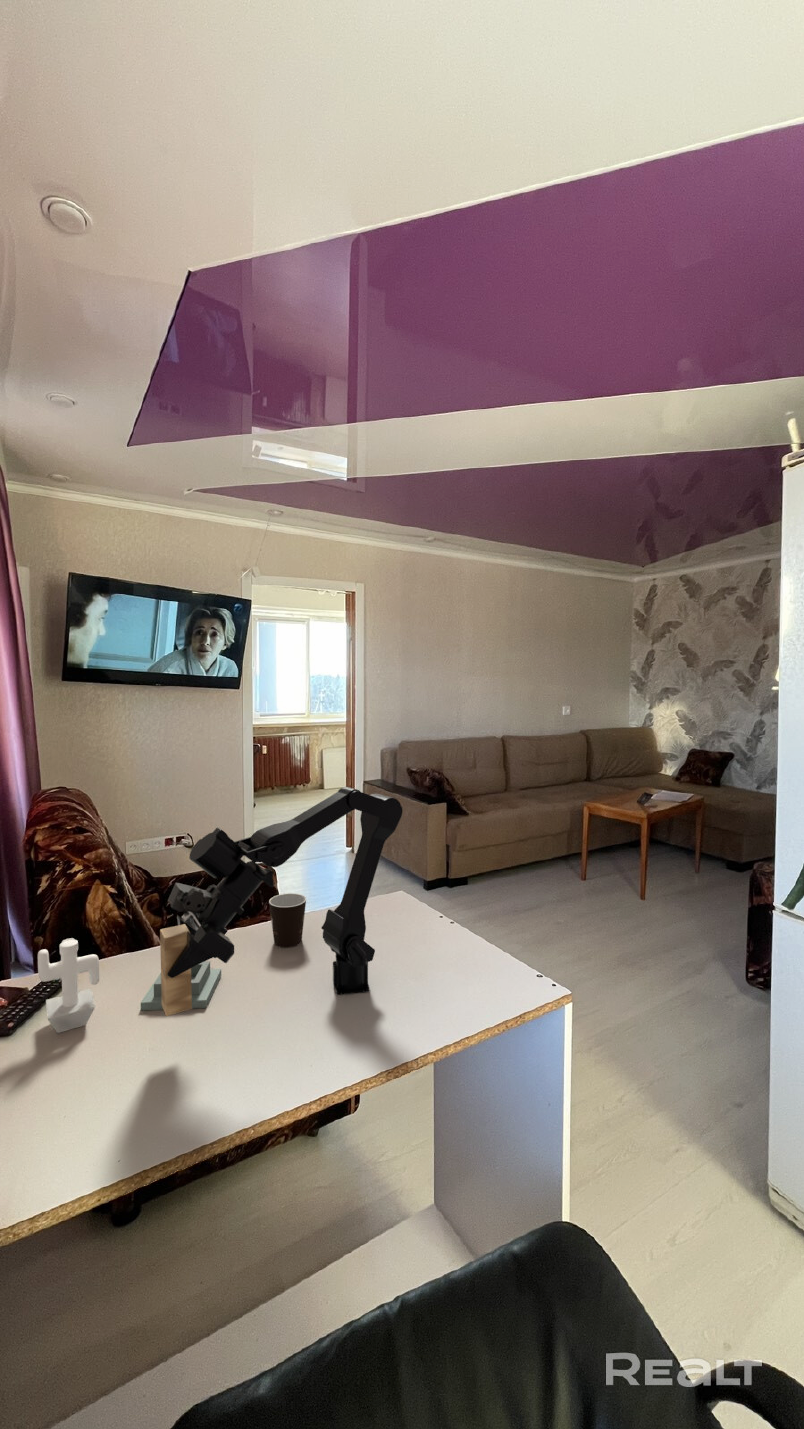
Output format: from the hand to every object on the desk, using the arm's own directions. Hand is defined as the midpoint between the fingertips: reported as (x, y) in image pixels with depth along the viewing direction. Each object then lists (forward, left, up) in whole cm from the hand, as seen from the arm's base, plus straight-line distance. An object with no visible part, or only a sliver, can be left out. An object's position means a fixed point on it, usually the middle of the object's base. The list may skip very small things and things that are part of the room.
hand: (167, 970), depth 95 cm
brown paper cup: (-20, -38, -14) cm, 45 cm away
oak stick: (-1, -1, -7) cm, 7 cm away
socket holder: (+1, -18, -13) cm, 23 cm away
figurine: (+19, -11, -14) cm, 26 cm away
